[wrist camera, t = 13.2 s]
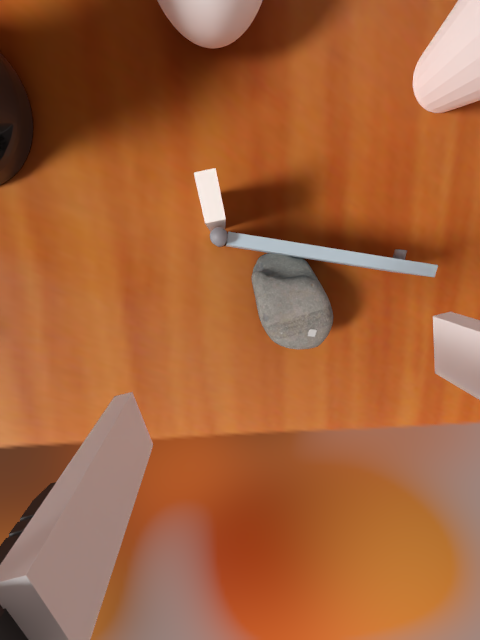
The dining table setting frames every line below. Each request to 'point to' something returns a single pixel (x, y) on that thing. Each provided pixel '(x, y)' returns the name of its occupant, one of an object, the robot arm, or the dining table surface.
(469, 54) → the cup
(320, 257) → the door
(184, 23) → the ornament
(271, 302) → the stone
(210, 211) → the tilted pink plank
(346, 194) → the dining table surface
